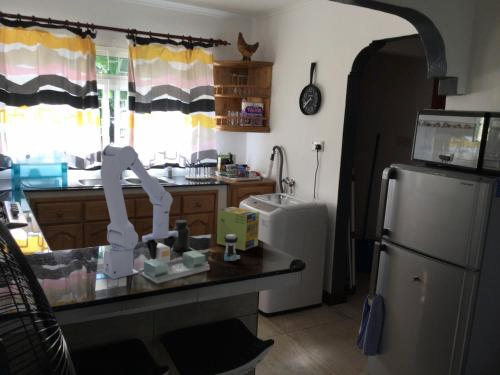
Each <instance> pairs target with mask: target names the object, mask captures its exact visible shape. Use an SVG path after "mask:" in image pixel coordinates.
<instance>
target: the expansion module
mask: <svg viewBox="0 0 500 375" xmlns="http://www.w3.org/2000/svg"><path fill="white" fill-rule="evenodd" d="M157 243H158V244H157V248H156V259H159V260H161V261H163V262H165V263H169V262H171V252H170V247H168V246H166V245H164V243H162V242H157ZM150 260H153V259H151V258H150Z"/></svg>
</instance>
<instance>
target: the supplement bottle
mask: <svg viewBox="0 0 500 375" xmlns="http://www.w3.org/2000/svg"><path fill="white" fill-rule="evenodd" d="M174 222H175V224H174V227H173V228H172V231H178V237H175V236H174V238H176V241H175V243H174V244H173V246H172V250H173V251H175V252H187V251H189V249H190V228H189V227H188V220H185V219H177V220H175V221H174Z"/></svg>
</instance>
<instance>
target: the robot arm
mask: <svg viewBox="0 0 500 375" xmlns="http://www.w3.org/2000/svg"><path fill="white" fill-rule="evenodd" d="M100 155H101V167H100V171H99V172H100V179H101V183H102V186H103V193H104V196H105V200H106V205H107V209H108V214H109V215H108V216H109V219H110V223H109V224H108V225H107V234H106V239H107V242H108V243H109V244H110V249H108V250H105V251H104V252H103V256H102V257H103V259H102V260H103V262H102V263H103V264H102V265H103V270H102V273H103V274H104V275H106V276H107V277H109V278H110V279H112V280H115V279H119V278H123V277H127V276H132V275H136V274H139V271H138V270H136V269H135V268H134V249H136V248H135V247H137V245H138V243H139V235H138V233H137V232H136V230H135V226H134V225H133V224H132V223H131V222H130V221H129V218H128V213H127V212H128V211H127V209H126V203H125V199H124V198H125V197H124V193H123V190H122V189H123V188H122V184H121V179H120V178H121V177H120V176H121V174H122V173H124V171H126V170H127V169H128V168H129V169H130V170H131V171H132V172H133V173H134V175H136V177H137V178H138V179H139V181H141V182H140V184H141V187H142V189H143V190H144V191H145V192H146V194H147V195H148V197H149V202H150V203H151V204H152V206H153V207H152V208H153V209H152V213H153V214H152V216H153V217H152V232H151V233H149V234H146V235H142V237H141V242H143V243H145V244H146V246H147V248H148V252H149V254H150V255H149V256H150V260H151V259H156V248H157V244H158V243H159V242H156V240H158V241H159V240H162V239H163V244H164V245H166V246H168V247H170V253H171V251H172V250H173V248H172V246H173V244H174V243H175V241H176V238H174V236H175V237H178V231H173V230H169V224H170V223H169V222H170V219H169V218H170V210H171V205H172V204H173V201H174V198H173V197H172V195H171V192H168V191H166V190H165V187H164V186H162V184H161V183H160V182H159V178H158V177H157V176H154V175H150V173H149V172H148V170H147V169H146V167H145V166H144V165H143V163H142V162H141V159H140V158H139V153H138V152H137V151H136V150H135V148H134V147H133V146H131V145H120V144H114V143H109V144H107V145H106V146H104V149H103V150H102V151H101V153H100Z"/></svg>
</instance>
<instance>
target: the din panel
mask: <svg viewBox="0 0 500 375" xmlns="http://www.w3.org/2000/svg"><path fill="white" fill-rule="evenodd" d="M210 269H211V268H210V264H206V255H205V254H203V253H202V252H201V253H200V252H198V251H197V250H191V251H189V250H188V251H184V252H182V259H178V260H174V261H170V262H169V263H165V262H163V261H161V260H159V259H153V260H151V259H148V260H145V261H143V267H142V268H139V275H140V276H142V277H144V278H146V279H148V280H149V281H151V282H153V283H155V284H161V283H165V282H169V281H173V280H175V279H179V278H184V277H186V276H191V275H194V274H199V273H202V272H206V271H209V270H210Z"/></svg>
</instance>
